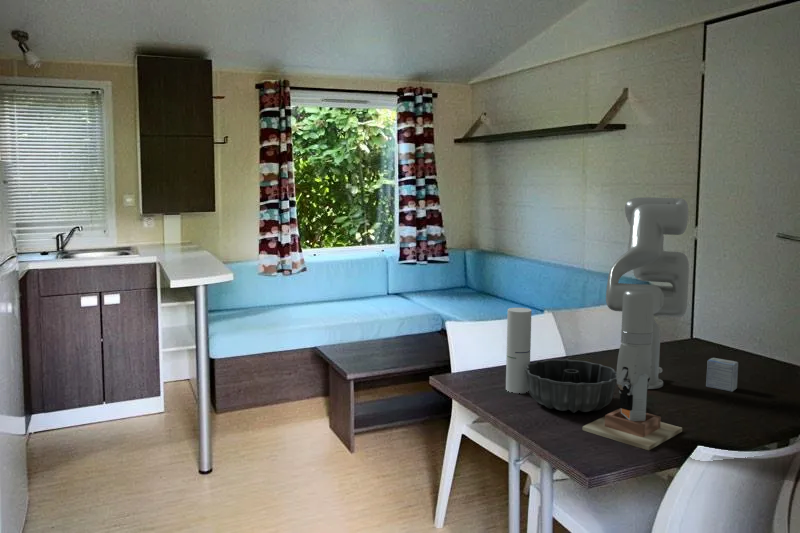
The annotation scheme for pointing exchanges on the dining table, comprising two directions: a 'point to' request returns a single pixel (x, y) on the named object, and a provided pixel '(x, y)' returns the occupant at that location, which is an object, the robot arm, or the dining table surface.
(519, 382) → the cylindrical container
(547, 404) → the bundt pan
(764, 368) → the dining table surface
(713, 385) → the medicine box
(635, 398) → the skincare box
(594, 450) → the dining table surface
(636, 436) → the collar board
